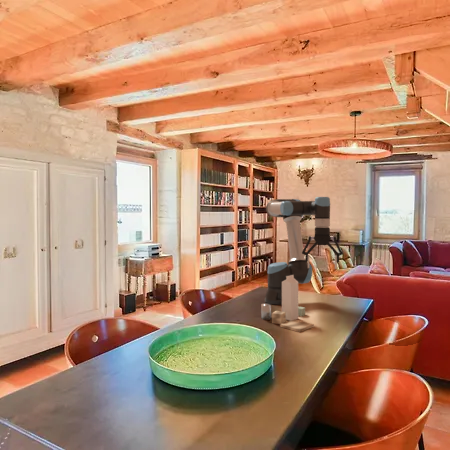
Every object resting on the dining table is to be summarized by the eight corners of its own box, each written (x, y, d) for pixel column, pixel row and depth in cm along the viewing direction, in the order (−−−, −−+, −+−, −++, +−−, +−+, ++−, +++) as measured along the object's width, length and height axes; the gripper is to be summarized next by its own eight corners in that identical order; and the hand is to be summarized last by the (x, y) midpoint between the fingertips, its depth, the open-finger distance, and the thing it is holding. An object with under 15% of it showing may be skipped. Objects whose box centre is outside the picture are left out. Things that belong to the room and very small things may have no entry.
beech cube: (271, 323, 182) (271, 313, 182) (276, 320, 186) (276, 310, 186) (281, 324, 179) (281, 314, 179) (285, 322, 183) (285, 311, 183)
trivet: (280, 326, 175) (280, 324, 175) (294, 321, 183) (294, 319, 183) (299, 332, 167) (299, 329, 167) (313, 326, 175) (313, 324, 175)
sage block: (289, 314, 197) (289, 307, 197) (293, 312, 200) (293, 305, 200) (302, 316, 192) (302, 309, 192) (305, 314, 196) (305, 307, 196)
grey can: (259, 318, 190) (259, 304, 190) (265, 316, 193) (265, 302, 193) (266, 320, 186) (266, 306, 186) (273, 318, 190) (273, 304, 189)
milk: (298, 318, 188) (298, 275, 188) (291, 321, 184) (291, 277, 183) (288, 316, 193) (289, 274, 192) (281, 318, 189) (281, 275, 188)
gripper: (297, 227, 190) (297, 268, 191) (348, 227, 184) (348, 270, 185) (297, 226, 197) (297, 266, 198) (347, 226, 191) (346, 267, 192)
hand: (322, 268), depth 191 cm, fingers open, 13 cm apart
